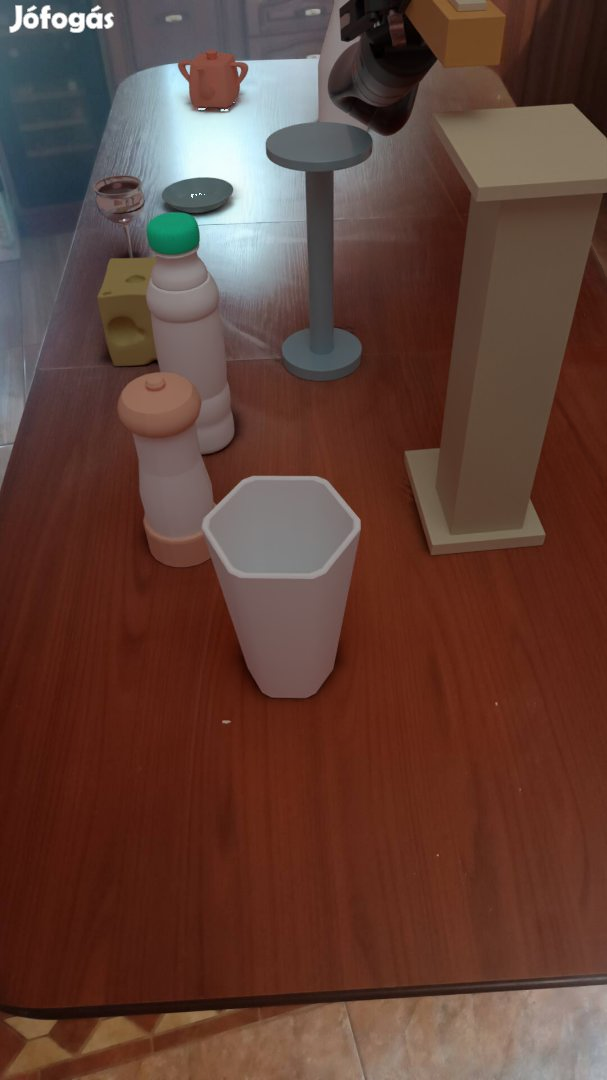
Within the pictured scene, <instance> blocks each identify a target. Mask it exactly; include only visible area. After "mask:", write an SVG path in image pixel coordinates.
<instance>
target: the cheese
mask: <svg viewBox="0 0 607 1080" xmlns="http://www.w3.org/2000/svg"><path fill="white" fill-rule="evenodd" d="M155 262H156V256H152V257H151V256H150V257H149V256H148V257H133V258H130V257H127V258H126V257H124V258H123V257H122V258H121V257H120V258H118V257H115V258H113V257H112V258H109V261H108V263H107V266H106V270H105V271H106V272H105V275H104V279H103V282H102V285H101V287H100V289H99V292H98V293H97V297H96V298H97V304H98V312H99V315H100V316H99V317H100V319H101V324H102V327H103V333H104V338H105V342H106V346H107V349H108V350H107V351H108V352H109V356H110V359H111V362H112V364H113V367H131V366H132V367H133V366H134V367H135V366H145V365H148V364H151V363H152V362H153V361H158V359H157V354H156V348H155V343H154V336H153V329H152V320H151V312H150V310H149V308H148V305H147V301H146V291H147V287H148V284H149V281H150V278H151V273H152V269H153V266H154V264H155Z"/></svg>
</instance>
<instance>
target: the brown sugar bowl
mask: <svg viewBox="0 0 607 1080" xmlns="http://www.w3.org/2000/svg"><path fill="white" fill-rule="evenodd" d="M187 66H189V71H188V70H187V68H186V67H187ZM177 68H178V71H179V72H180V74H181V75H182V76H183V78H184V79H185V81H186V82H187V83H188V94H189V99H190V102H191V104H192V106H194V107H197V108H206V107H207V108H220V109H224V110H225V109H228V108H229V109H230V107H231V105H233V104H232V103H233V102H235V101H237V99H238V97H239V94H240V89H241V84H242V82H243V81H244V80H245V78H246V77H247V75H248V73H249V65H248V64H247V63H246V62H243V61H236V59H235V55H234V54H233V53H228V52H218V50H217V49H208V50H206V51H205V52H201V53H199V54H197V56H194V58H193V59H192V60H190V59H189V60H188V59H182V60H179V62H178V63H177ZM238 68H239V69H240V73H239V70H238ZM220 109H219V110H220Z"/></svg>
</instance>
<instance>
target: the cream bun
mask: <svg viewBox="0 0 607 1080" xmlns="http://www.w3.org/2000/svg"><path fill="white" fill-rule="evenodd" d="M404 13H405V14H406V15H407V17H408V18H409V20H410V21H411V22H412V24H413V25H414V27H415V28H416V29H417V31H418V32H419V34H420V35H421V36H422V38H423V39H424V41H425V42H426V43H427V45H428V46H429V48H430V49H431V50H432V52H433V53H434V55H435V56H436V57H437V59H438V60H437V61H438V62H439V64H441V67H442V68H444V69H451V68H468V67H469V68H470V67H488V66H499V65H500V64H501V57H502V51H503V50H502V49H503V42H504V35H505V27H506V22H507V21H506V20H507V15H506V14H505V13H504V12H503V11H502V10H500V8H498V6H497V5H495V4H494V2H493V1H492V0H411V2H410V3H409V5H408V7H407V9H406V11H405V12H404Z"/></svg>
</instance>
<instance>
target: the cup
mask: <svg viewBox="0 0 607 1080" xmlns="http://www.w3.org/2000/svg"><path fill="white" fill-rule="evenodd" d="M361 522H362V520H361V519H360V517H359V516H358V515H357V514H356V513H355V511H354V510H353V508H351V506H349V504H348V503H347V501H345V499H344V498H343V497H342V495H340V493H339V492H338V491H337V490H336V489H335V487H334V486H333V485H332V483H331V482H329V480H328V479H325V478H323V477H320V476H317V475H252V476H249V477H246V478H244V479H242V480H240V481H239V483H237V484H236V486H234V487H233V488H232V489H231V490H230V491H229V492H228V493H227V494H226V496H224V497H223V498H222V499H221V500H220V501H219V502H218V503H216V506H215V507H214V508H213V509H212V510H211V511H210V512H209V513H208V514H207V515H206V516H205V517H204V518H203V522H202V527H201V529H202V532H203V535H204V538H205V541H206V544H207V547H208V550H209V553H210V556H211V558H210V559H211V561H212V565H213V567H214V571H215V574H216V577H217V580H218V583H219V586H220V589H221V592H222V595H223V598H224V601H225V603H226V607H227V610H228V613H229V616H230V619H231V622H232V625H233V629H234V631H235V634H236V637H237V640H238V643H239V647H240V649H241V652H242V655H243V659H244V662H245V664H246V667H247V670H248V671H249V673H250V674H251V676H252V678H253V680H254V681H255V683H256V685H257V686H258V688H259V690H260V691H261V694H264V695H265V696H268V697H270V698H275V699H307V698H309V697H311V696H313V695H315V694H317V693H318V691H319V690H320V689H321V687H322V685H323V684H324V683H325V682H326V680H327V678H328V677H329V676H330V675H331V673H332V672H333V670H334V667H335V661H336V657H337V652H338V647H339V641H340V636H341V631H342V626H343V621H344V617H345V612H346V606H347V601H348V597H349V596H348V595H349V591H350V585H351V581H352V575H353V571H354V566H355V561H356V557H357V556H356V555H357V551H358V550H357V549H358V547H359V540H360V535H361V529H362V524H361Z"/></svg>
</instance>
